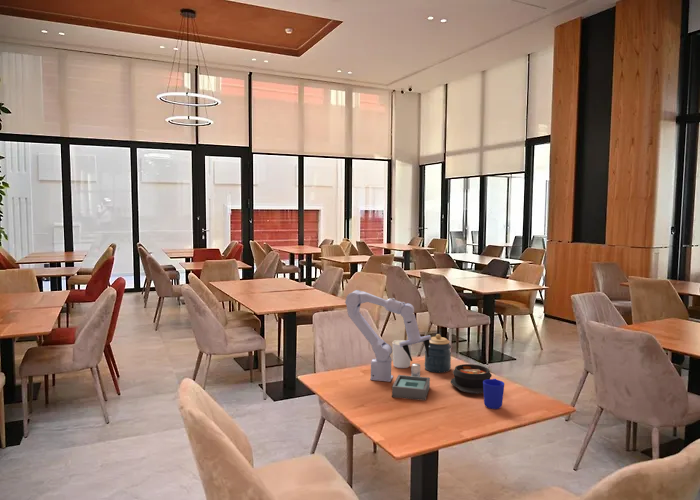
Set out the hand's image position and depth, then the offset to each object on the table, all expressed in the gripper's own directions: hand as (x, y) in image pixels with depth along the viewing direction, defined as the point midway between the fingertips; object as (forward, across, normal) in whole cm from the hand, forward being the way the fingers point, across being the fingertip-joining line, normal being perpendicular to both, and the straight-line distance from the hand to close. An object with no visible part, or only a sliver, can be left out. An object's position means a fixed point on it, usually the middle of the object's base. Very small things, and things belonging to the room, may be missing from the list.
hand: (419, 358), depth 229 cm
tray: (+10, -8, -13) cm, 18 cm away
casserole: (+17, +19, -5) cm, 26 cm away
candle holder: (+8, -9, +25) cm, 27 cm away
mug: (+19, +23, -25) cm, 39 cm away
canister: (+12, +8, +21) cm, 25 cm away
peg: (+10, -4, +1) cm, 11 cm away
